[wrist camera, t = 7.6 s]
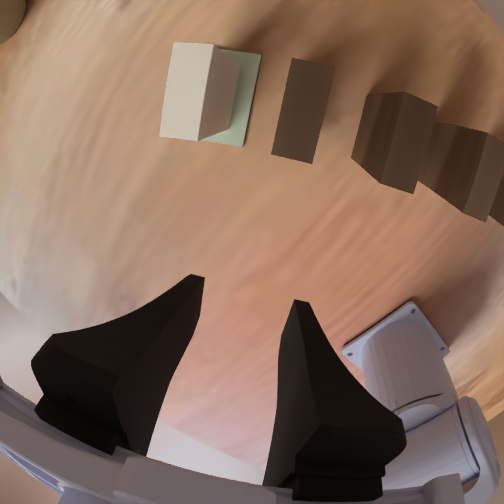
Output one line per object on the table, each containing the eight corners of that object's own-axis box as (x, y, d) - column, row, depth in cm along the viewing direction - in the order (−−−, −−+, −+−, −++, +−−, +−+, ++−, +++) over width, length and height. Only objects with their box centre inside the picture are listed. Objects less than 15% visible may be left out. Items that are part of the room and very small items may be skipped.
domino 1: (240, 65, 16) (213, 44, 10) (228, 129, 18) (197, 141, 12) (213, 62, 16) (173, 42, 10) (202, 125, 19) (159, 136, 12)
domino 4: (451, 130, 16) (509, 146, 10) (435, 186, 19) (485, 222, 12) (431, 121, 16) (487, 132, 10) (415, 178, 19) (462, 212, 12)
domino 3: (391, 104, 17) (437, 106, 10) (375, 165, 19) (413, 194, 12) (366, 96, 17) (403, 91, 10) (350, 157, 19) (379, 183, 12)
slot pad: (261, 55, 16) (261, 54, 16) (243, 146, 19) (242, 147, 19) (201, 48, 16) (200, 47, 16) (185, 137, 19) (184, 137, 19)
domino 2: (319, 82, 17) (334, 68, 10) (304, 145, 19) (311, 164, 13) (291, 75, 17) (291, 57, 10) (277, 138, 19) (271, 154, 13)
